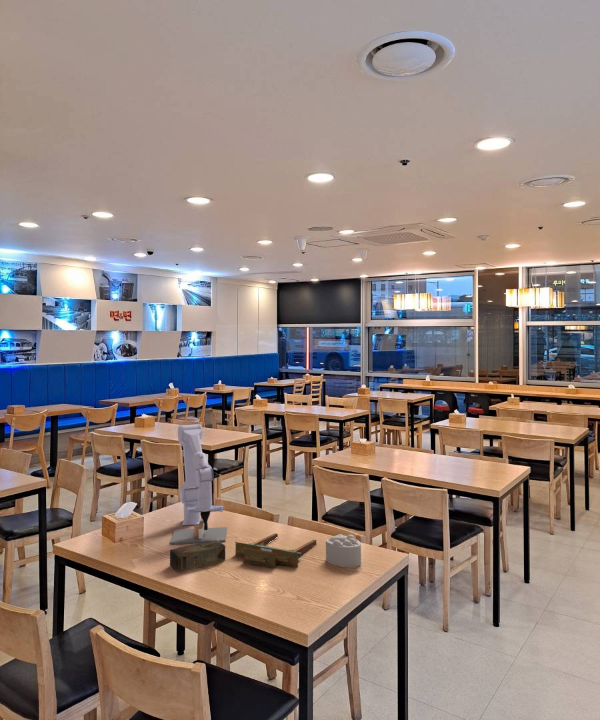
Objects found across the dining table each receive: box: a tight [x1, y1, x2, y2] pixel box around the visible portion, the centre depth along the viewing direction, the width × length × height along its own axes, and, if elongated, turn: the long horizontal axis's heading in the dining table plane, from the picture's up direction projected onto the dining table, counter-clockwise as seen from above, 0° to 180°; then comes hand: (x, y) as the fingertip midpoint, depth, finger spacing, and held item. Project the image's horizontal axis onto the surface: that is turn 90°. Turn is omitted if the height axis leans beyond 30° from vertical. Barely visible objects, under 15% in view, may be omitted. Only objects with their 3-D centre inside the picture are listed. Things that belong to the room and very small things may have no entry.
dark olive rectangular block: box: [169, 540, 226, 573], centre depth 197 cm, size 8×19×7 cm, turn 124°
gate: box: [198, 518, 204, 539], centre depth 226 cm, size 13×2×5 cm, turn 4°
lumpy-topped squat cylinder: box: [325, 533, 362, 568], centre depth 197 cm, size 10×13×9 cm
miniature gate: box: [234, 533, 317, 570], centre depth 205 cm, size 27×6×30 cm
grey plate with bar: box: [169, 525, 228, 546], centre depth 225 cm, size 16×22×7 cm
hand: (205, 529), depth 226 cm, fingers closed
